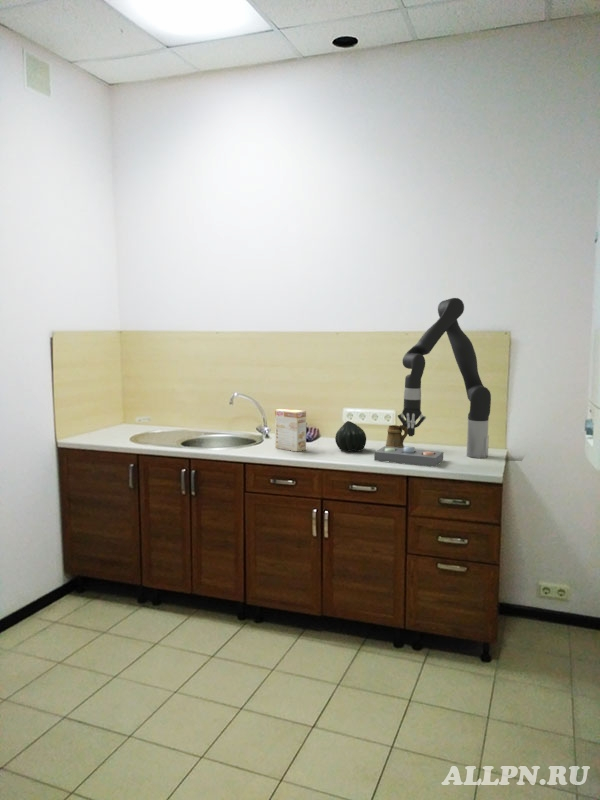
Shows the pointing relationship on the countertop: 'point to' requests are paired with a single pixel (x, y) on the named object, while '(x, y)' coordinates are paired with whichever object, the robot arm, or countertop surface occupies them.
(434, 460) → the button panel
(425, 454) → the terracotta button
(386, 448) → the sage button
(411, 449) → the slate button
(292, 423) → the coffeecake box
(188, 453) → the countertop surface
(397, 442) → the wooden mug
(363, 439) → the squash
